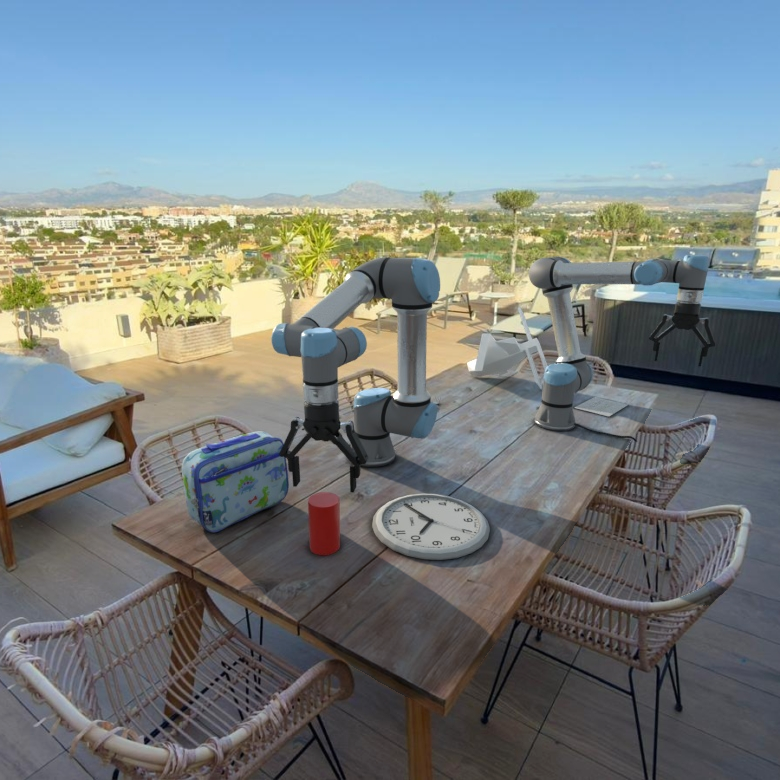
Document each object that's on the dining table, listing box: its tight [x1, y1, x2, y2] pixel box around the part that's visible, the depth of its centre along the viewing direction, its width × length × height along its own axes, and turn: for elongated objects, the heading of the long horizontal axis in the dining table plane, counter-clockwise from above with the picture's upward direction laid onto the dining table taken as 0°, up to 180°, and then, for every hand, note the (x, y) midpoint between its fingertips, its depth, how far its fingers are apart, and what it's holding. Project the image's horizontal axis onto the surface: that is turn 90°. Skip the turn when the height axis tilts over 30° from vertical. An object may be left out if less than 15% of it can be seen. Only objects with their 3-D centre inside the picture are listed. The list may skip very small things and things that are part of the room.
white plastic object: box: [466, 306, 549, 390], centre depth 259 cm, size 37×45×31 cm
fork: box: [433, 396, 442, 405], centre depth 222 cm, size 3×16×2 cm, turn 160°
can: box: [307, 491, 341, 556], centre depth 123 cm, size 7×7×13 cm
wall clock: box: [371, 493, 491, 561], centre depth 134 cm, size 30×2×30 cm
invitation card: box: [573, 396, 629, 418], centre depth 226 cm, size 21×1×15 cm
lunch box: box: [181, 430, 290, 533], centre depth 135 cm, size 26×11×21 cm, turn 134°
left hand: (324, 486), depth 120 cm, fingers open, 13 cm apart
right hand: (677, 362), depth 184 cm, fingers open, 13 cm apart
